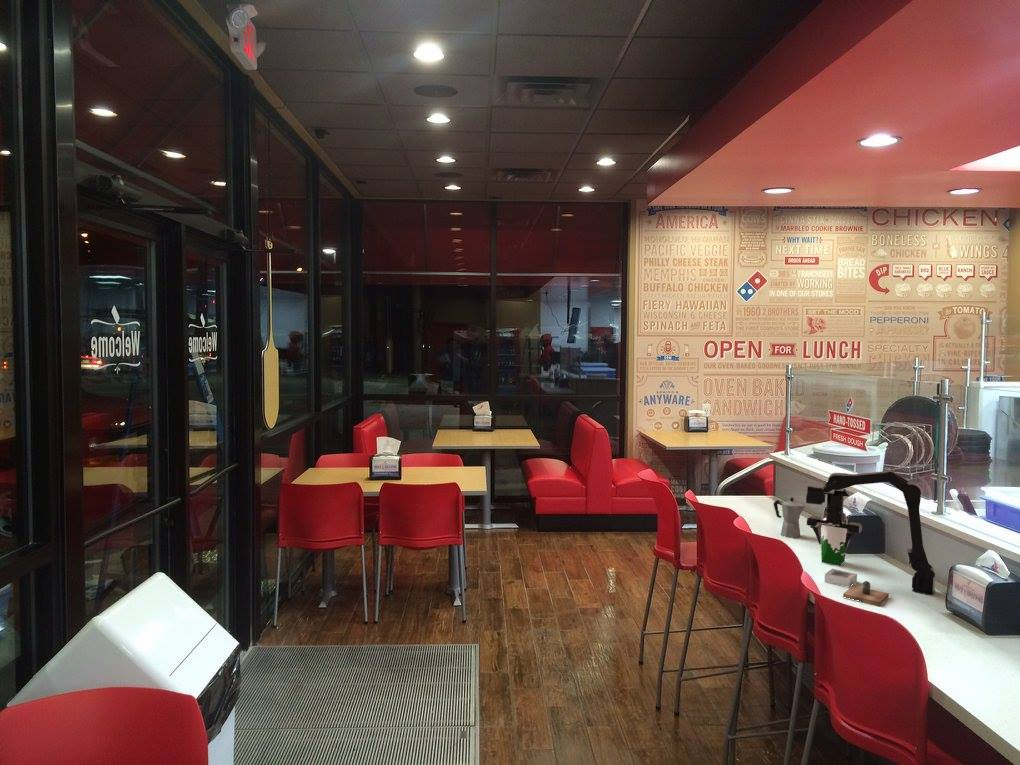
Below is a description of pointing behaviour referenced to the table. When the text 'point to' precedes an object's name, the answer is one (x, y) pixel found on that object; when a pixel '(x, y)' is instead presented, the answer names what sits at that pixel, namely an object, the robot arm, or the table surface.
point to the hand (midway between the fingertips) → (832, 546)
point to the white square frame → (840, 577)
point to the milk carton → (833, 544)
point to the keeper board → (866, 594)
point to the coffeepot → (790, 517)
